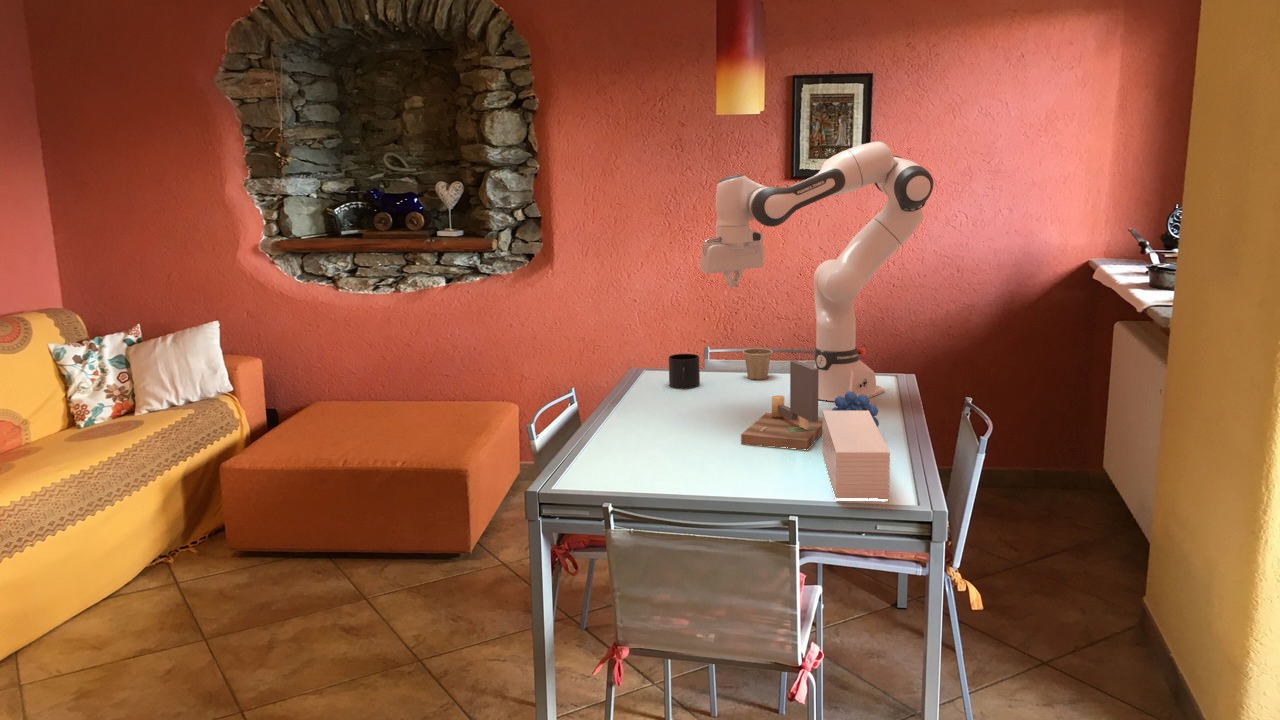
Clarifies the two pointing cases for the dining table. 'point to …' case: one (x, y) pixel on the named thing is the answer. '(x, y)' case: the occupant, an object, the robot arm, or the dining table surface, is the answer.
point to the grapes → (855, 404)
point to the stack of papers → (855, 455)
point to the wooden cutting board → (781, 432)
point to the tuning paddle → (800, 395)
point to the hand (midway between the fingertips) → (732, 286)
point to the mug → (684, 371)
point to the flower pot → (757, 362)
